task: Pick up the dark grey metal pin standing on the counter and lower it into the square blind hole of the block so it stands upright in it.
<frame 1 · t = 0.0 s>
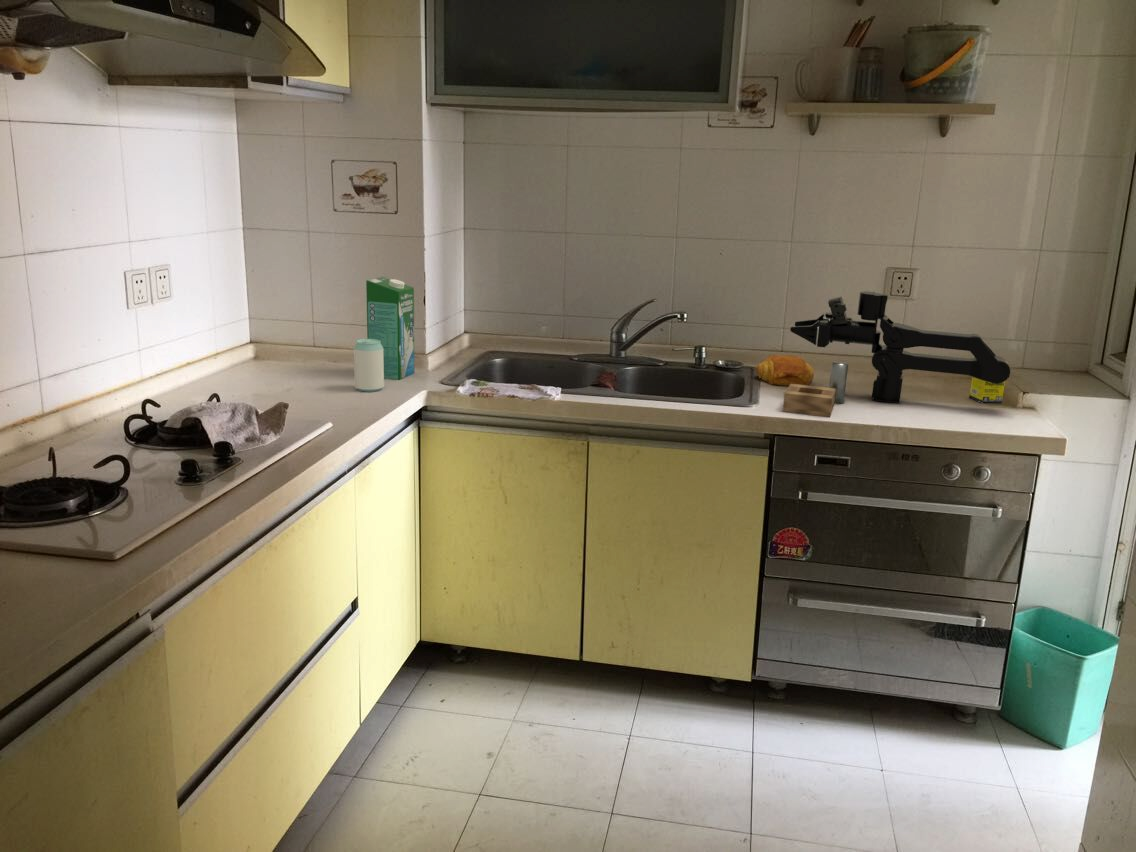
hand: (792, 326, 248), 17 cm above the worktop, tool horizontal, fingers open, 9 cm apart
milk carton: (391, 375, 251), on the worktop
pin: (835, 402, 240), on the worktop
can: (369, 389, 235), on the worktop
croissant: (784, 382, 262), on the worktop
supplement box: (985, 401, 248), on the worktop
bore block: (808, 408, 232), on the worktop
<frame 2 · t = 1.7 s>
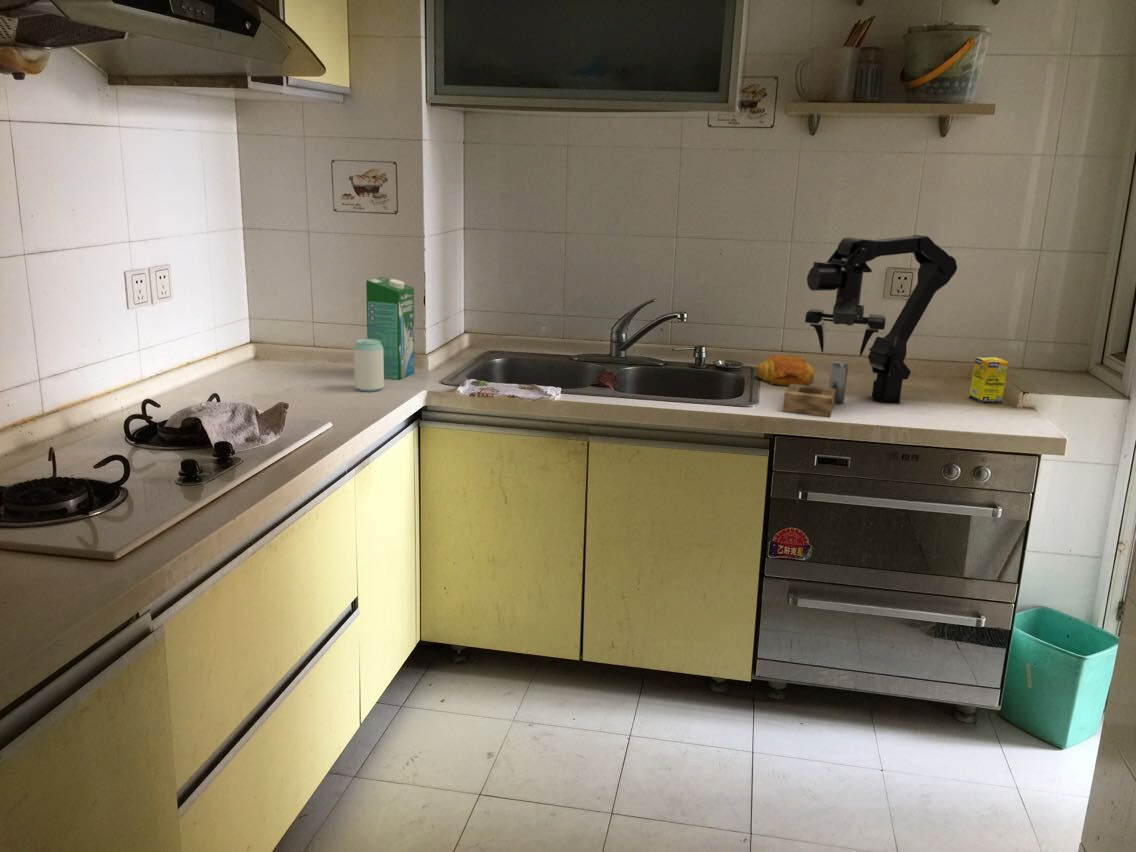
hand: (841, 353, 237), 12 cm above the worktop, tool pointing down, fingers open, 9 cm apart
nothing on the worktop moved.
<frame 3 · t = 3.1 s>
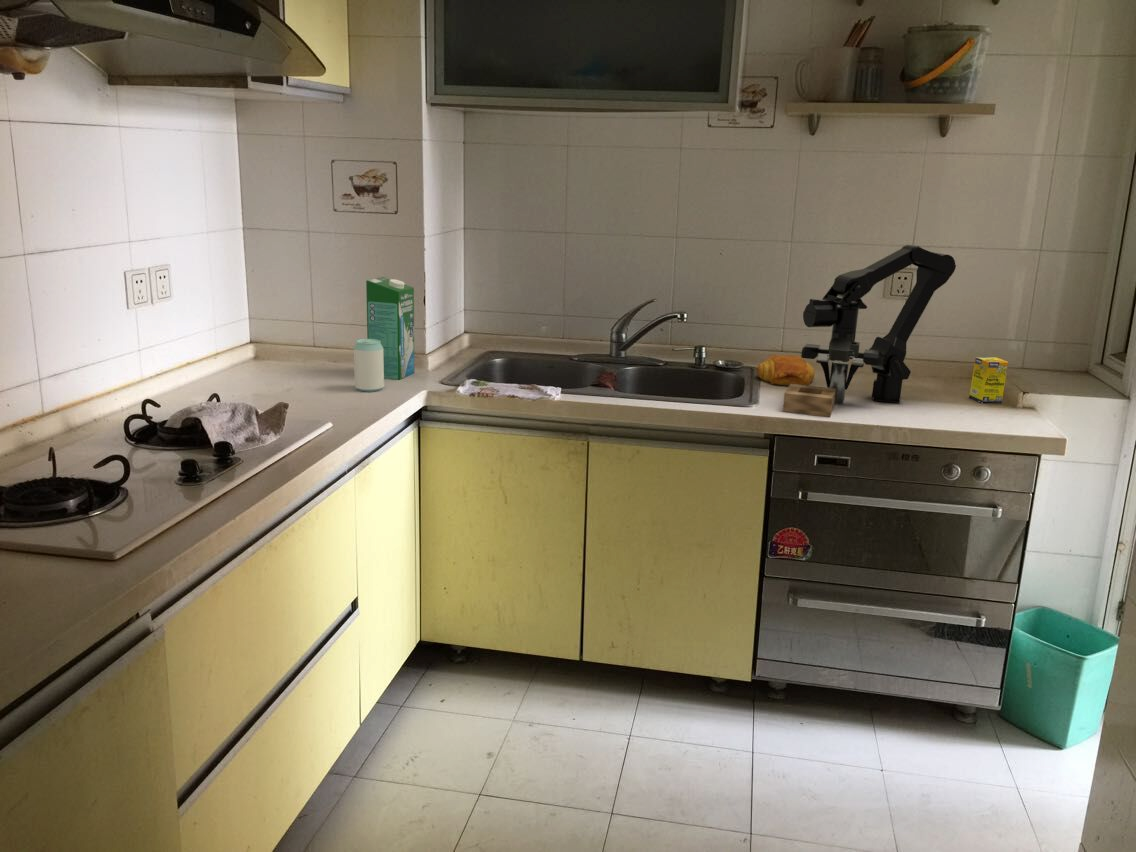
hand: (837, 388, 239), 4 cm above the worktop, tool pointing down, fingers closed on pin, 4 cm apart
pin: (835, 402, 240), on the worktop, touching gripper
everything else where it was.
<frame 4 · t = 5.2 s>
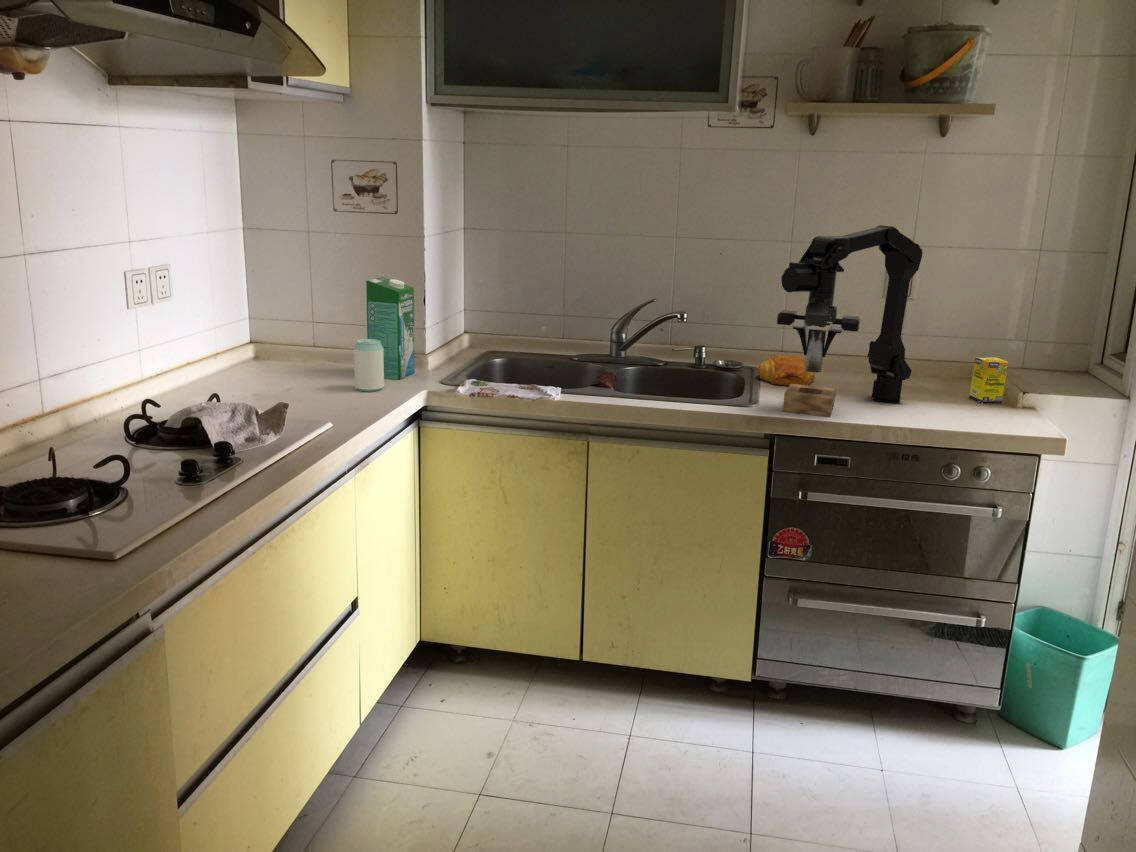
hand: (814, 356, 229), 13 cm above the worktop, tool pointing down, fingers closed on pin, 4 cm apart
pin: (812, 370, 230), point 10 cm above the worktop, touching gripper
everything else where it was.
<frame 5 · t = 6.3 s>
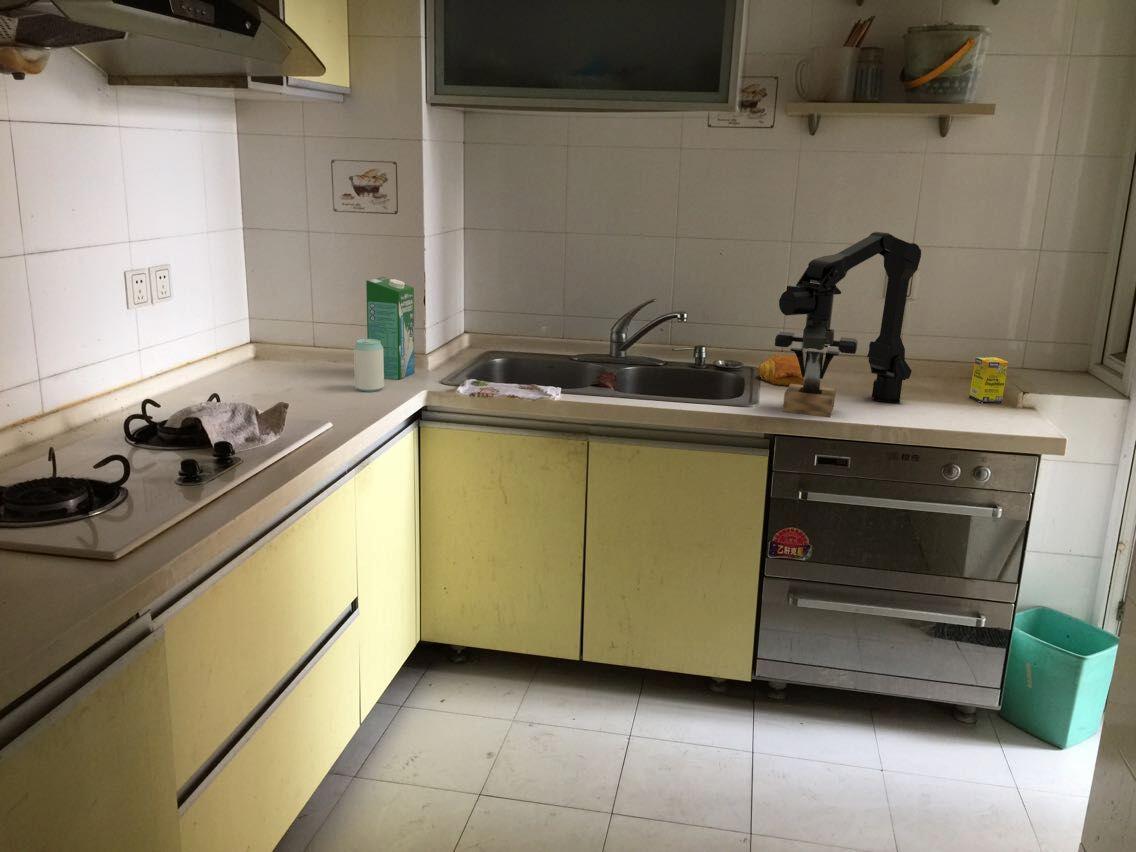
hand: (812, 377, 230), 8 cm above the worktop, tool pointing down, fingers closed on pin, 4 cm apart
pin: (810, 391, 231), point 4 cm above the worktop, touching gripper
everything else where it was.
when the fingers open (6 cm above the worktop, at t = 7.1 s): pin drops 1 cm, resting on bore block.
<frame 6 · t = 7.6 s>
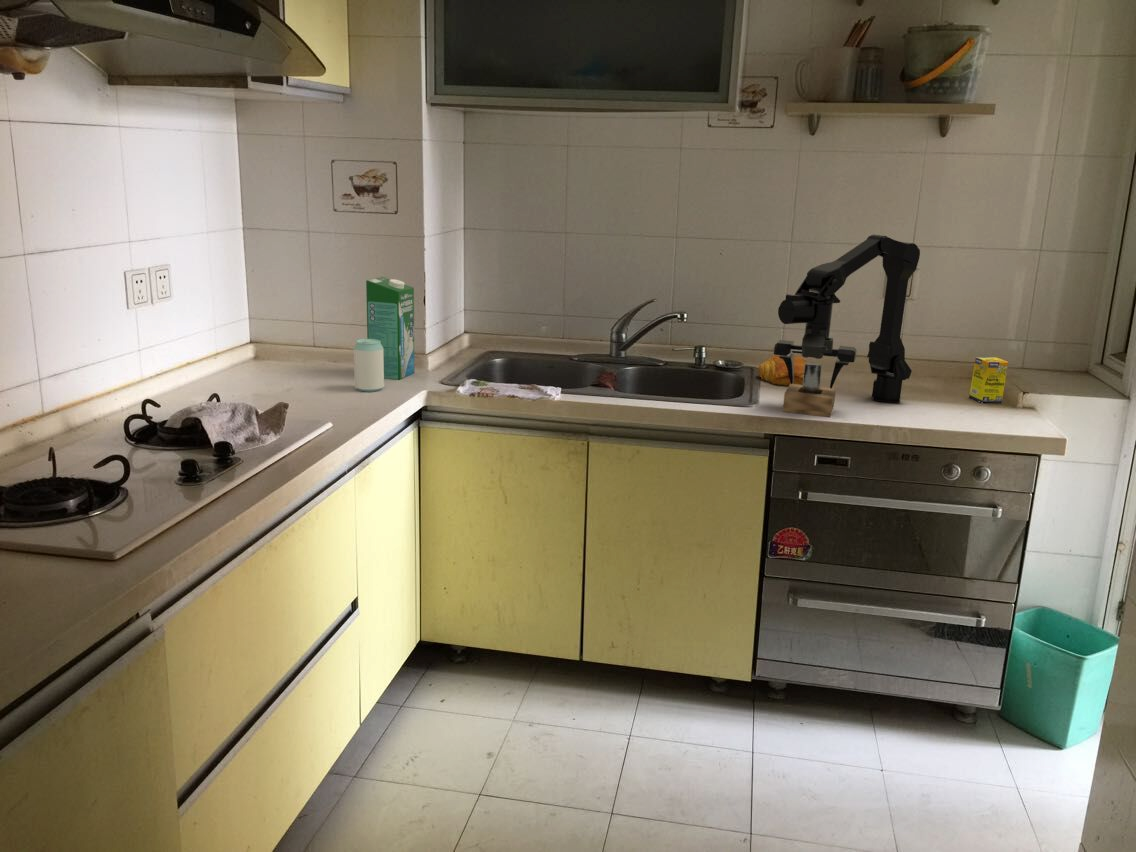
hand: (811, 386, 231), 6 cm above the worktop, tool pointing down, fingers open, 9 cm apart
pin: (809, 404, 232), point 1 cm above the worktop, touching bore block
everything else where it was.
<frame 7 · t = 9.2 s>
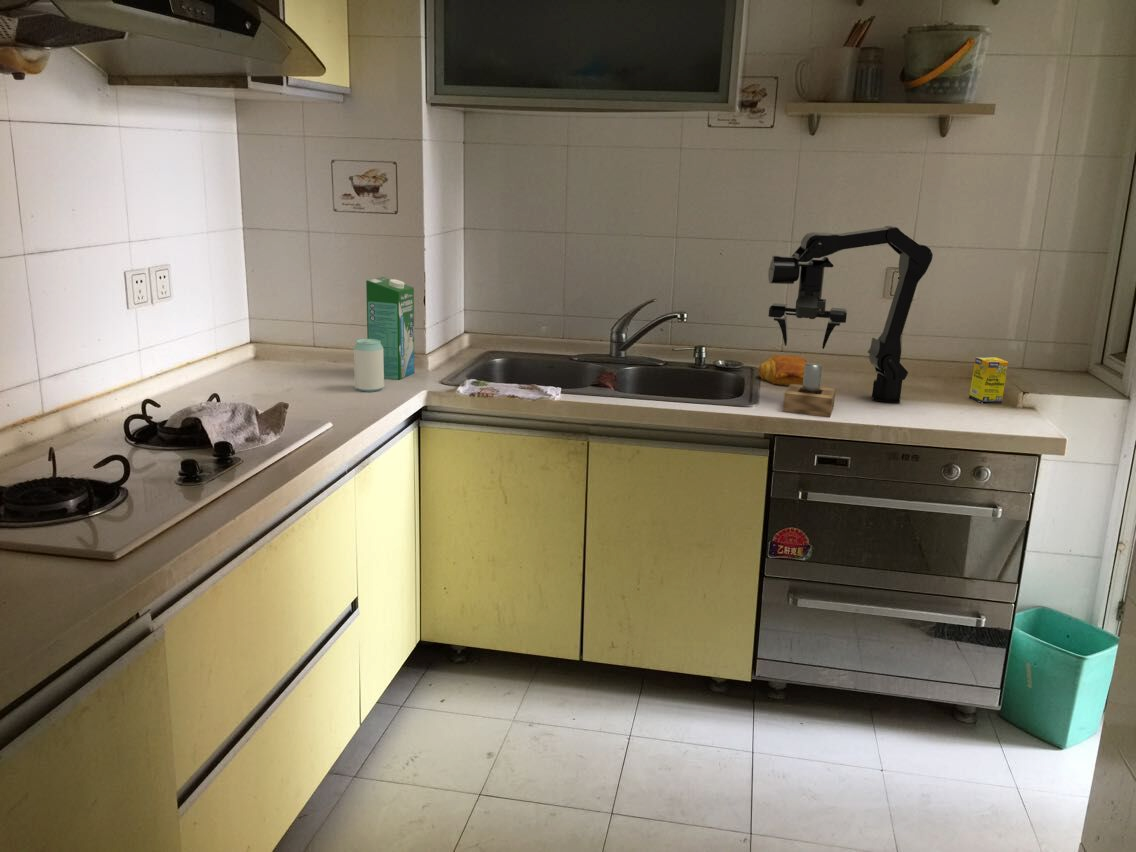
hand: (804, 346, 241), 13 cm above the worktop, tool pointing down, fingers open, 9 cm apart
nothing on the worktop moved.
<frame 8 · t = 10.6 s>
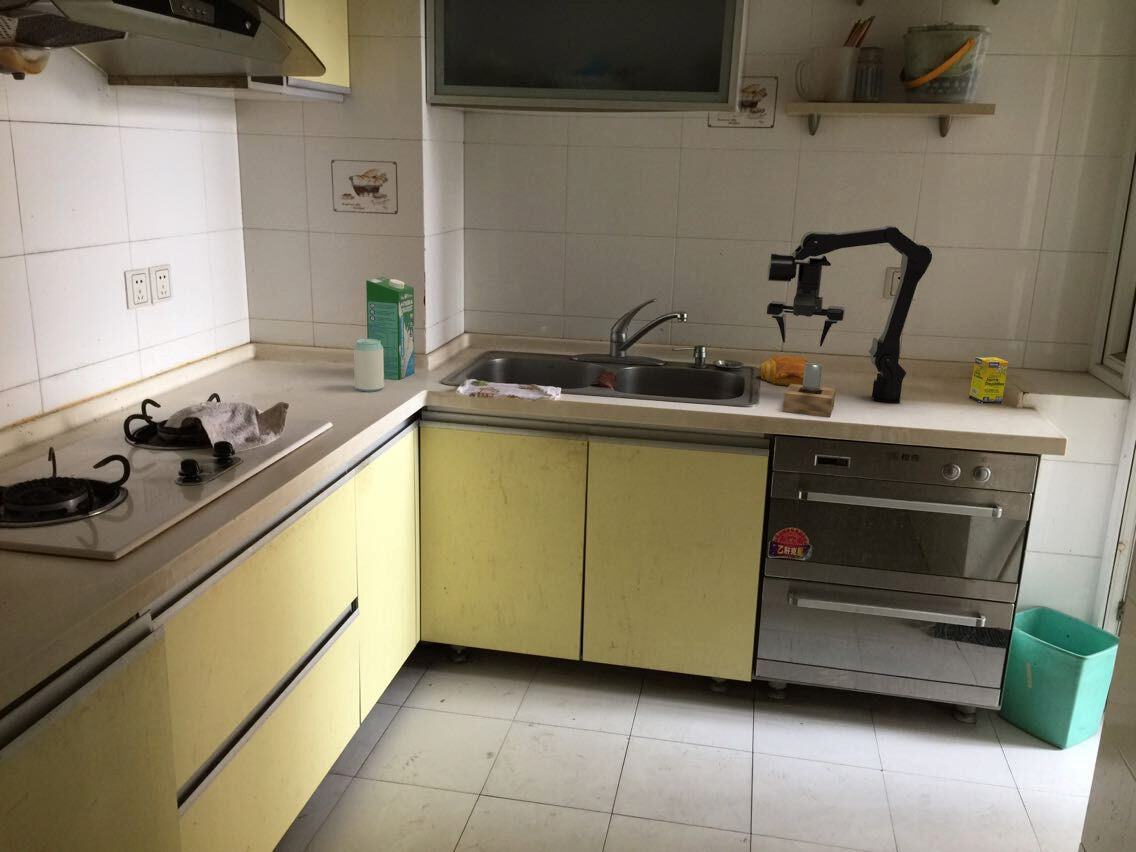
hand: (802, 344, 244), 13 cm above the worktop, tool pointing down, fingers open, 9 cm apart
nothing on the worktop moved.
at the end: pin 0.0 cm off-centre on the bore block, point 1.0 cm above the bore block's base; pin tilted 0°; the gripper is holding nothing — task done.
